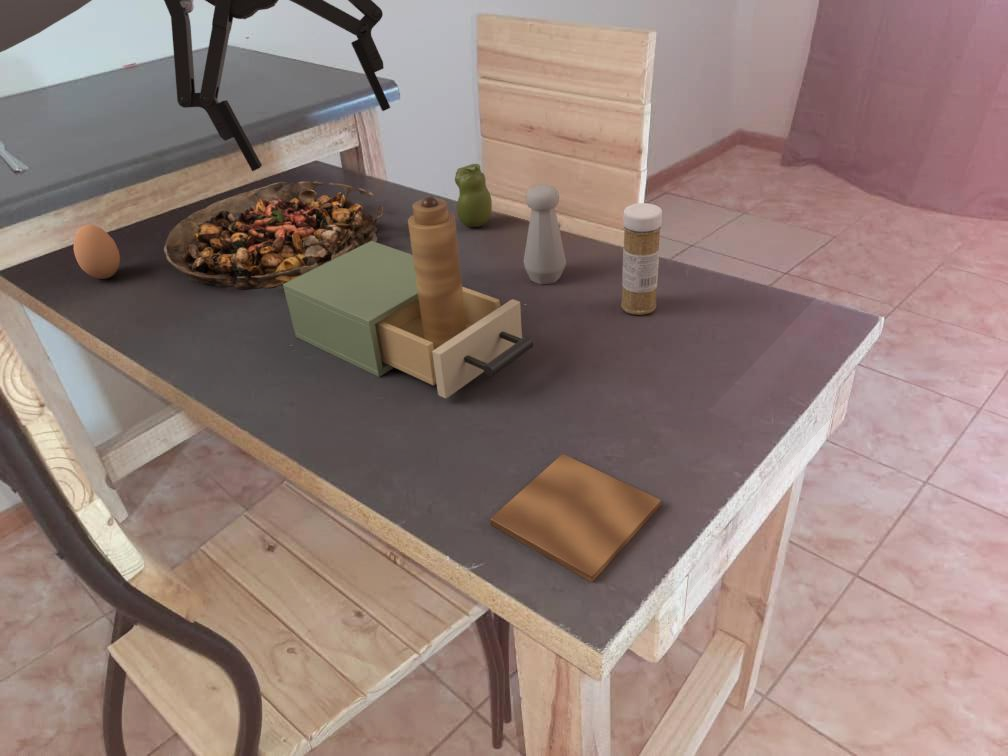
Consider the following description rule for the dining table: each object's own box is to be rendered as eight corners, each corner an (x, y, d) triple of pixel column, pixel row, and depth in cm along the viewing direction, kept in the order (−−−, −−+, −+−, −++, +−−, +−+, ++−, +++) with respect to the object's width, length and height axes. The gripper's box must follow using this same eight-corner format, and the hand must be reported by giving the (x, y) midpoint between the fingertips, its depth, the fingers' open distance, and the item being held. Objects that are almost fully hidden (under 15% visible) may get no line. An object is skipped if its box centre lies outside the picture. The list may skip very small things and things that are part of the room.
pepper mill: (447, 362, 88) (429, 210, 78) (416, 349, 91) (394, 200, 80) (476, 343, 91) (462, 193, 81) (445, 330, 94) (428, 184, 83)
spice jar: (651, 297, 102) (657, 200, 94) (660, 314, 98) (667, 214, 90) (616, 300, 101) (619, 203, 94) (624, 318, 98) (628, 218, 90)
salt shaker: (573, 273, 108) (572, 183, 101) (553, 291, 105) (551, 199, 97) (537, 264, 111) (534, 177, 104) (516, 282, 107) (511, 192, 100)
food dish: (418, 264, 116) (411, 216, 111) (192, 330, 105) (173, 280, 100) (345, 185, 141) (337, 143, 136) (157, 231, 130) (141, 188, 125)
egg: (80, 277, 116) (59, 226, 112) (119, 264, 119) (100, 214, 115) (92, 290, 113) (71, 237, 108) (132, 276, 116) (113, 224, 111)
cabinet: (463, 323, 99) (457, 270, 95) (379, 377, 90) (368, 321, 86) (380, 290, 108) (371, 240, 103) (295, 337, 99) (282, 284, 94)
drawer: (551, 355, 90) (550, 312, 87) (475, 413, 82) (470, 367, 79) (434, 309, 100) (429, 269, 97) (357, 357, 92) (348, 314, 89)
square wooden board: (592, 582, 64) (592, 576, 63) (490, 524, 70) (489, 518, 69) (660, 506, 70) (661, 499, 70) (562, 459, 76) (562, 453, 76)
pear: (471, 235, 121) (466, 173, 115) (451, 226, 124) (445, 165, 118) (499, 224, 123) (495, 163, 118) (478, 215, 127) (473, 155, 121)
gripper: (336, -147, 70) (434, 84, 78) (81, -34, 69) (208, 188, 78) (336, -173, 63) (444, 84, 72) (54, -47, 62) (196, 198, 71)
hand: (322, 139), depth 75 cm, fingers open, 13 cm apart
